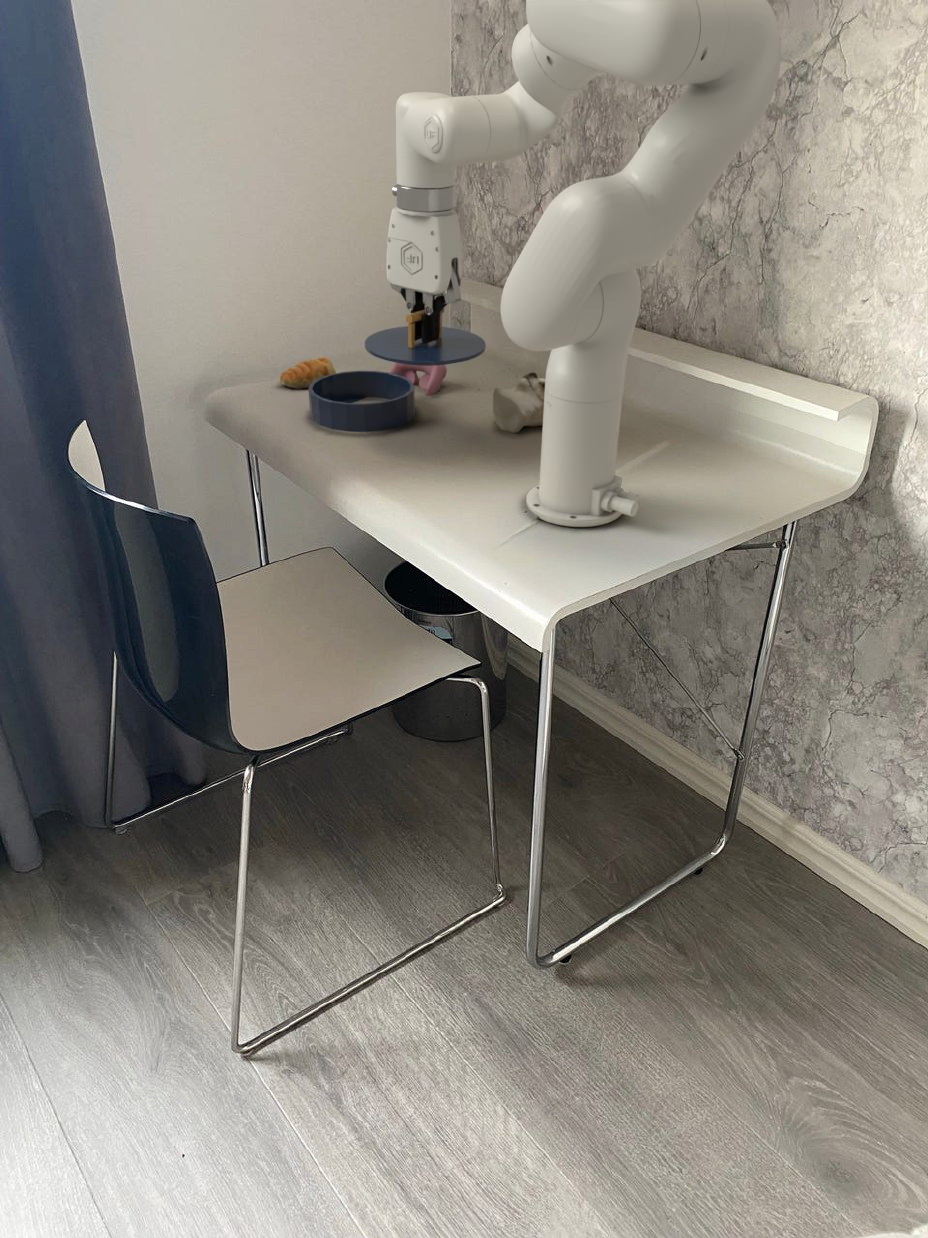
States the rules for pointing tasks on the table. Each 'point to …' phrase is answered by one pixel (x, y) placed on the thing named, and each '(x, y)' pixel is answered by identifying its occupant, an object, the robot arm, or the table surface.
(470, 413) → the table surface
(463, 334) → the lid
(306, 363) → the pastry
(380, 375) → the tin
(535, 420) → the ceramic sculpture
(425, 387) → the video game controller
